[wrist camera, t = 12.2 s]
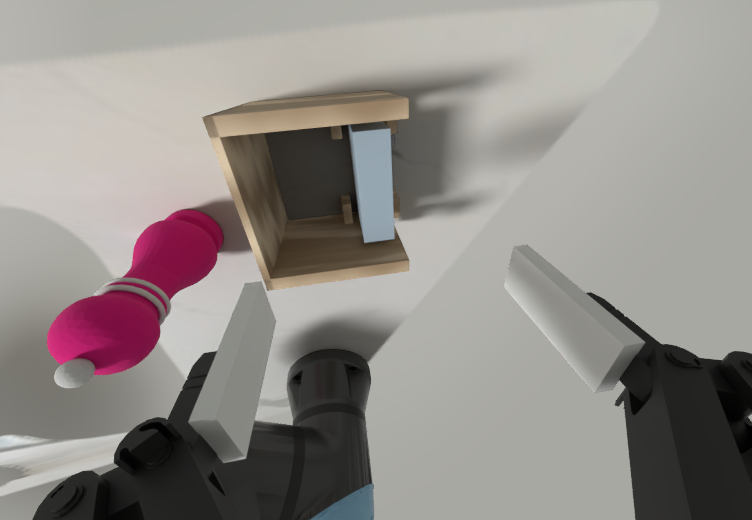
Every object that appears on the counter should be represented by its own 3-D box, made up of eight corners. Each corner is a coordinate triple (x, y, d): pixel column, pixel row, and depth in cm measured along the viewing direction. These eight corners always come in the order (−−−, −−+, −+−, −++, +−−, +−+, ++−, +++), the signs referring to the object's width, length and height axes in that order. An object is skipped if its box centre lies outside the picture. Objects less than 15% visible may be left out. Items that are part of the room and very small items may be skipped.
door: (387, 203, 35) (402, 237, 27) (357, 207, 35) (364, 242, 27) (382, 114, 29) (400, 127, 22) (346, 117, 29) (352, 132, 22)
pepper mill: (239, 228, 34) (152, 372, 17) (211, 267, 36) (112, 426, 20) (176, 192, 31) (-4, 327, 14) (150, 237, 33) (-29, 398, 17)
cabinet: (395, 222, 36) (419, 277, 26) (287, 236, 35) (270, 298, 25) (390, 89, 28) (423, 96, 18) (249, 102, 27) (202, 117, 17)
